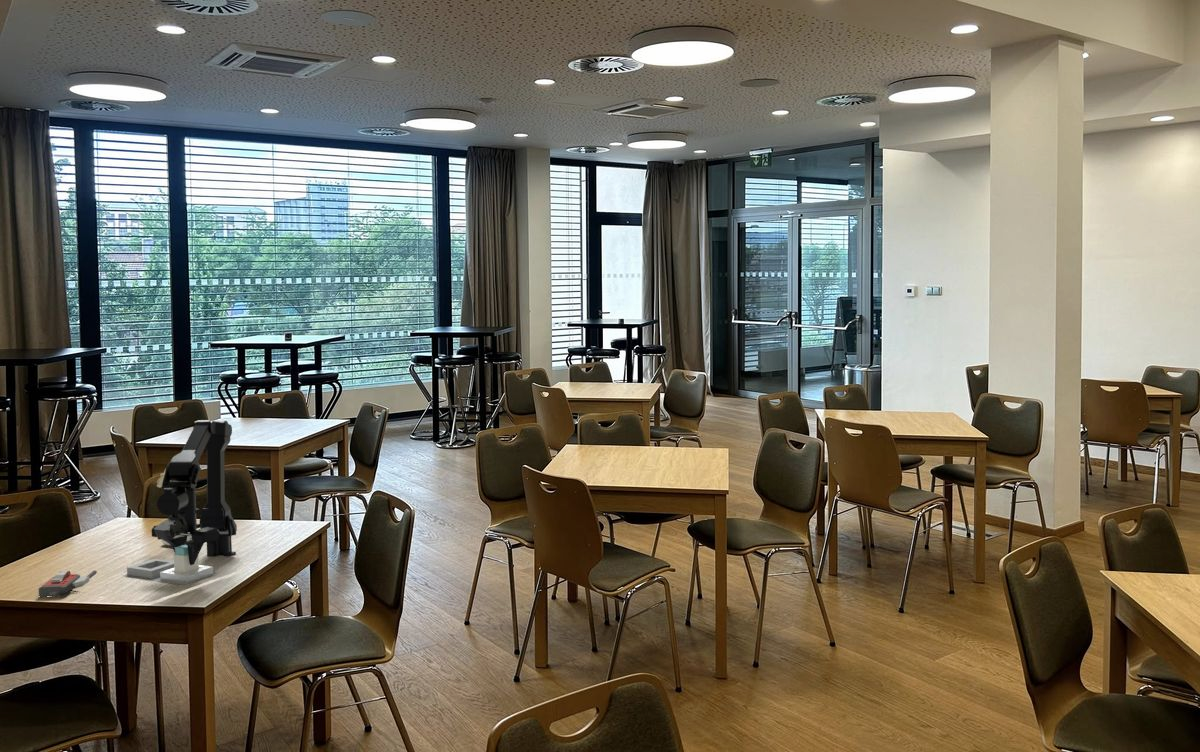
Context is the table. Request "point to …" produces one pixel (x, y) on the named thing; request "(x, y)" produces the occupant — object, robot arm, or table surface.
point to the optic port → (186, 574)
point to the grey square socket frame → (150, 568)
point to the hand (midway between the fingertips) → (186, 564)
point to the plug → (183, 560)
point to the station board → (163, 580)
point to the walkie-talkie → (63, 584)
